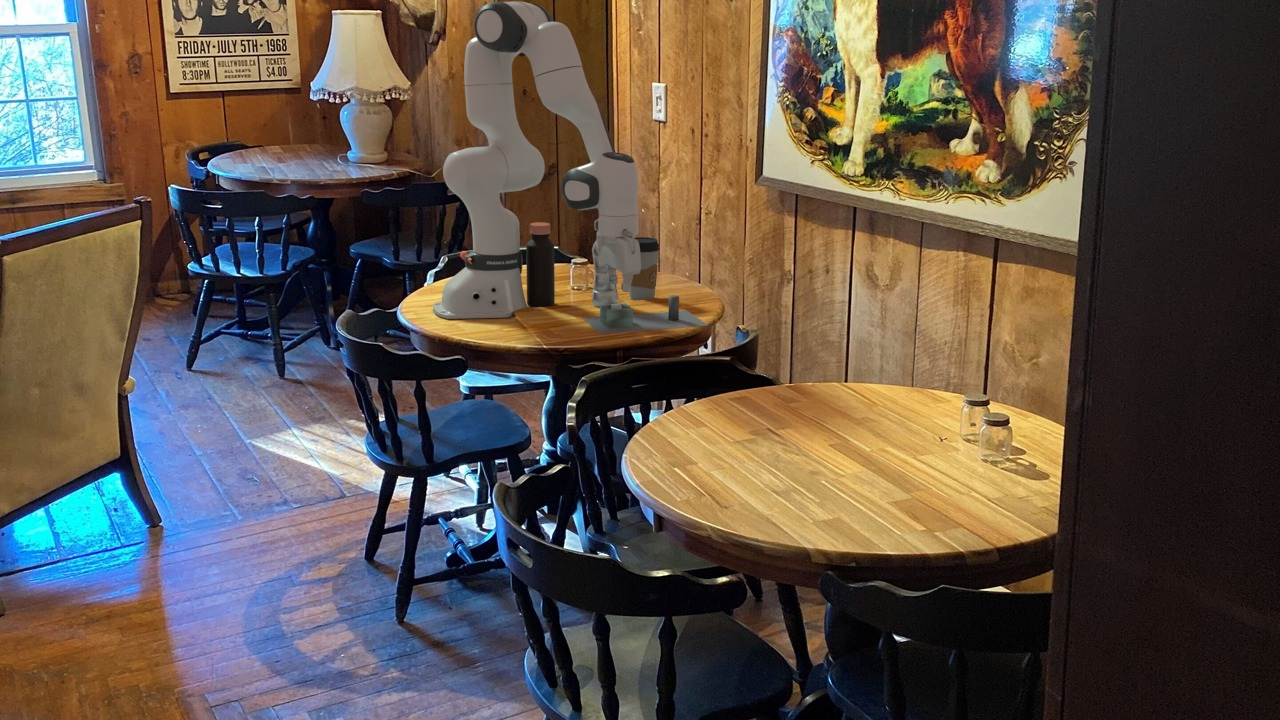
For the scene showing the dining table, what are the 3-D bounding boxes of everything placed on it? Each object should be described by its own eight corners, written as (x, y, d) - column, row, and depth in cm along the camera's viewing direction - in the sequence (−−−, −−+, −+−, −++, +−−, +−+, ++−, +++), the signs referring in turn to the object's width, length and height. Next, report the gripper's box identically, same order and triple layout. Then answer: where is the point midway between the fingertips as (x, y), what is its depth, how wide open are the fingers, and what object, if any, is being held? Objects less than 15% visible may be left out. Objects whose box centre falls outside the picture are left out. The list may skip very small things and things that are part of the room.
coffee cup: (645, 304, 292) (646, 244, 287) (618, 299, 296) (619, 240, 292) (665, 298, 298) (666, 239, 294) (638, 293, 303) (639, 235, 298)
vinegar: (548, 309, 286) (547, 227, 280) (522, 306, 288) (521, 225, 282) (558, 302, 292) (558, 222, 286) (533, 300, 294) (532, 220, 288)
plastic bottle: (619, 305, 290) (620, 225, 284) (616, 312, 283) (617, 230, 278) (593, 304, 290) (594, 224, 285) (589, 311, 284) (590, 229, 278)
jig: (600, 338, 262) (600, 309, 260) (582, 322, 274) (582, 295, 272) (708, 329, 270) (709, 301, 268) (686, 314, 282) (687, 288, 281)
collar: (607, 328, 266) (607, 311, 265) (599, 321, 271) (599, 304, 270) (632, 326, 268) (633, 309, 267) (624, 319, 273) (624, 303, 272)
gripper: (647, 232, 255) (648, 295, 258) (618, 219, 273) (618, 278, 277) (620, 234, 252) (620, 297, 256) (591, 221, 271) (592, 280, 275)
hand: (619, 287), depth 267 cm, fingers open, 8 cm apart
